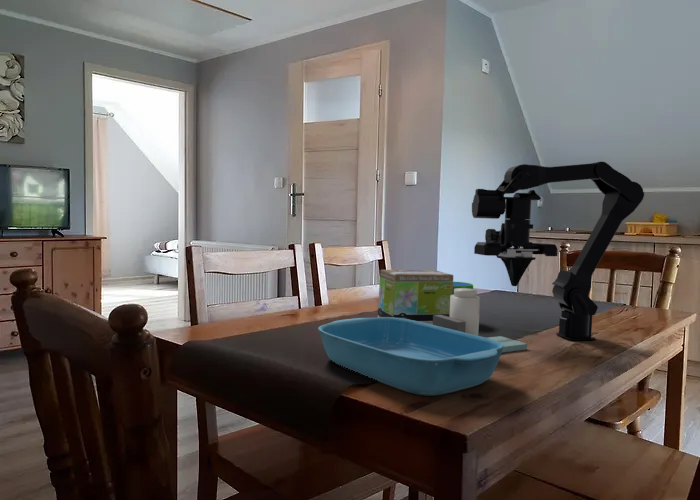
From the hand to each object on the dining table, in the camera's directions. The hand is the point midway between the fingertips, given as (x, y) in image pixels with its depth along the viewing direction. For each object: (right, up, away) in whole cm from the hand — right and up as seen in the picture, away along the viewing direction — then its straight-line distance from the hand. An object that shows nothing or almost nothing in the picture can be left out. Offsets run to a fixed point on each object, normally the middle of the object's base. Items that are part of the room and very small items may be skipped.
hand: (514, 286), depth 132 cm
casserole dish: (-29, -14, -30) cm, 44 cm away
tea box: (-23, -12, +2) cm, 26 cm away
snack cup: (-12, -11, +18) cm, 24 cm away
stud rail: (-11, -13, -12) cm, 21 cm away
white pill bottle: (-15, -11, -15) cm, 24 cm away
